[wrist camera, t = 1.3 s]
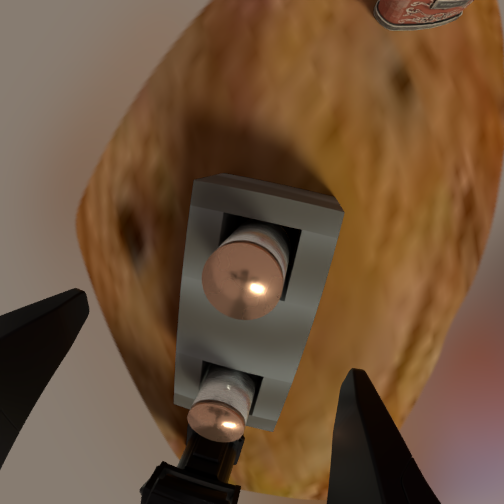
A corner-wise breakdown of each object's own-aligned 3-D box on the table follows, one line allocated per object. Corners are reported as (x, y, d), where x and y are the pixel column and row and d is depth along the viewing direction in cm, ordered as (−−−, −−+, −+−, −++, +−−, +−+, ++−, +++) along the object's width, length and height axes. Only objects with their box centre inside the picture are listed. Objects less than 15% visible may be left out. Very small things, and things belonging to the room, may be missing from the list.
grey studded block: (281, 383, 26) (272, 431, 21) (197, 361, 27) (173, 403, 22) (334, 197, 21) (344, 212, 15) (223, 173, 22) (193, 179, 16)
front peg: (283, 281, 19) (272, 328, 14) (227, 267, 19) (197, 308, 14) (296, 225, 18) (291, 254, 13) (236, 212, 18) (207, 235, 13)
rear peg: (253, 394, 22) (238, 447, 17) (209, 382, 23) (186, 432, 17) (262, 361, 21) (248, 416, 16) (214, 348, 21) (188, 399, 16)
